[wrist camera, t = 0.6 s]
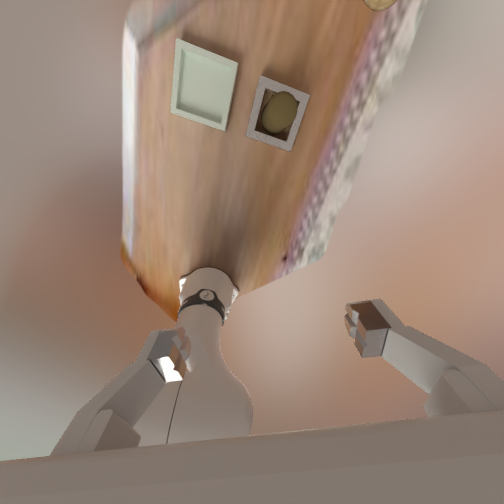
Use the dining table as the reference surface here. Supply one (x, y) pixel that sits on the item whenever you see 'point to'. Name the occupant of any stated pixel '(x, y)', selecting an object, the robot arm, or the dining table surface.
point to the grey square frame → (266, 86)
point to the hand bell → (379, 4)
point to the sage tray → (202, 85)
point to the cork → (279, 112)
